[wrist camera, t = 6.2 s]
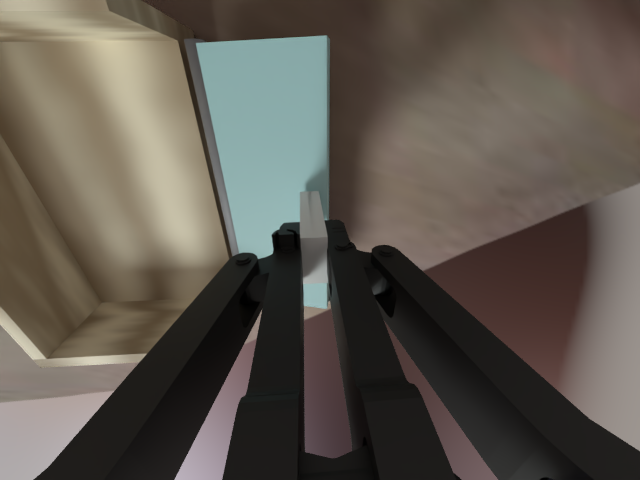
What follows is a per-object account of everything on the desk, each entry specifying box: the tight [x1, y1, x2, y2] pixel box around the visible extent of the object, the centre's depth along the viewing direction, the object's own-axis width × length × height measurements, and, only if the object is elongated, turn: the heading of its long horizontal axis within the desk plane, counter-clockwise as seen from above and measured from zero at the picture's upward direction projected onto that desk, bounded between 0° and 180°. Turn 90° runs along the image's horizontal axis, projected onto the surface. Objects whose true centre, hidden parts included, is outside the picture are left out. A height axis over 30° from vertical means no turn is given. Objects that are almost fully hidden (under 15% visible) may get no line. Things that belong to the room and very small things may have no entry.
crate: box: [0, 0, 233, 368], centre depth 18 cm, size 14×22×9 cm, turn 1°
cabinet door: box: [184, 35, 330, 309], centre depth 19 cm, size 1×20×9 cm
